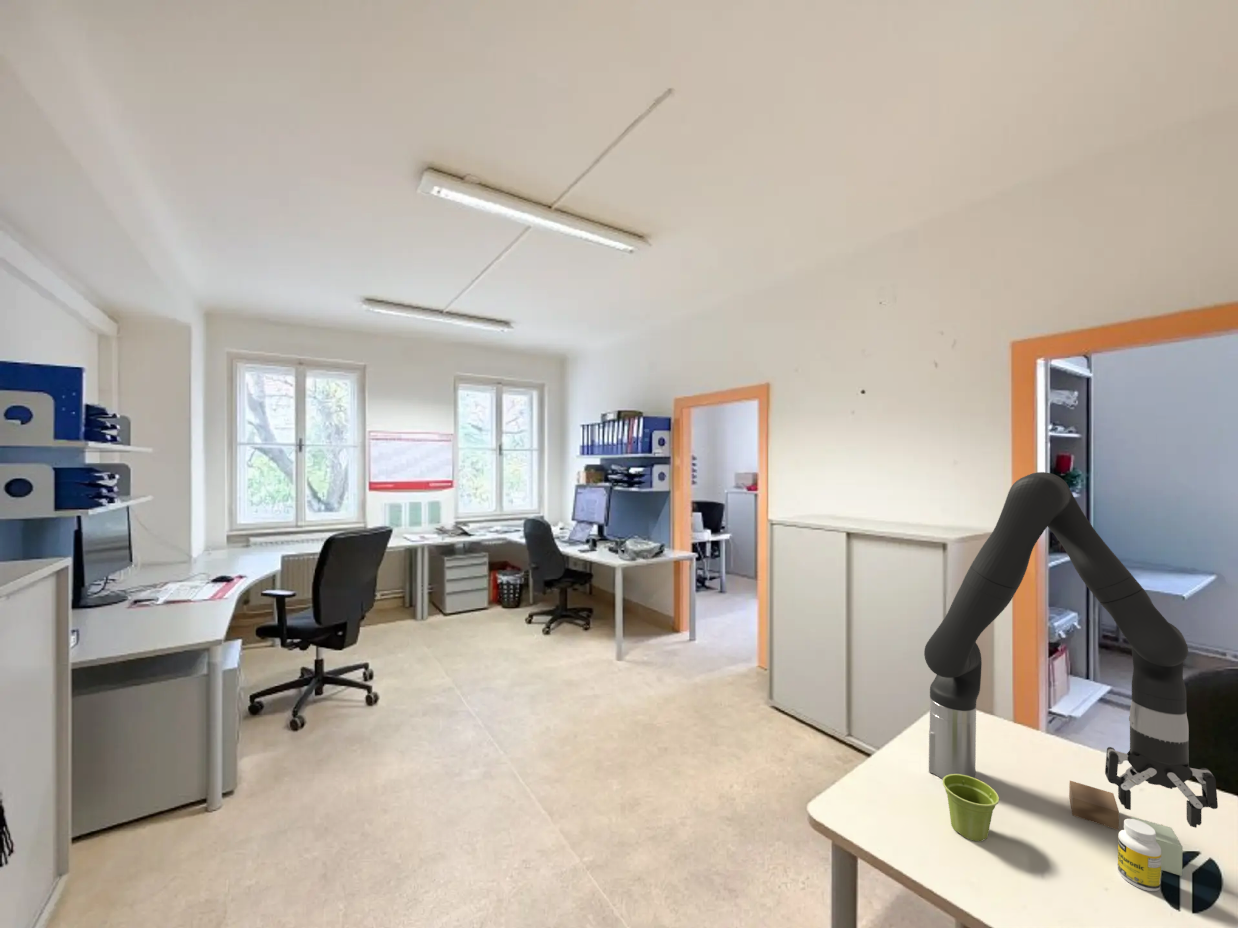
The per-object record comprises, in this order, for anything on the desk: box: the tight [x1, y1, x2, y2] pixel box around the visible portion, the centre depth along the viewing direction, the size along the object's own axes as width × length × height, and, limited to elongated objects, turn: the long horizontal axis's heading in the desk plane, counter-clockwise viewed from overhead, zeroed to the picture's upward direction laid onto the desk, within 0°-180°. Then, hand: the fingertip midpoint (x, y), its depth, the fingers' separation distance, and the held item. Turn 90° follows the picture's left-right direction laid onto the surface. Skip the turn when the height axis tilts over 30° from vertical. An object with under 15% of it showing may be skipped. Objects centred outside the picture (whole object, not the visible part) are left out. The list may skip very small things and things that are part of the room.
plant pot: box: [942, 774, 1000, 842], centre depth 103 cm, size 9×9×9 cm
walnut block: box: [1068, 780, 1120, 831], centre depth 108 cm, size 7×7×4 cm
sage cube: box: [1130, 816, 1184, 877], centre depth 96 cm, size 6×6×6 cm
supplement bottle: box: [1117, 818, 1162, 892], centre depth 91 cm, size 5×5×10 cm
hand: (1158, 815), depth 95 cm, fingers open, 8 cm apart
